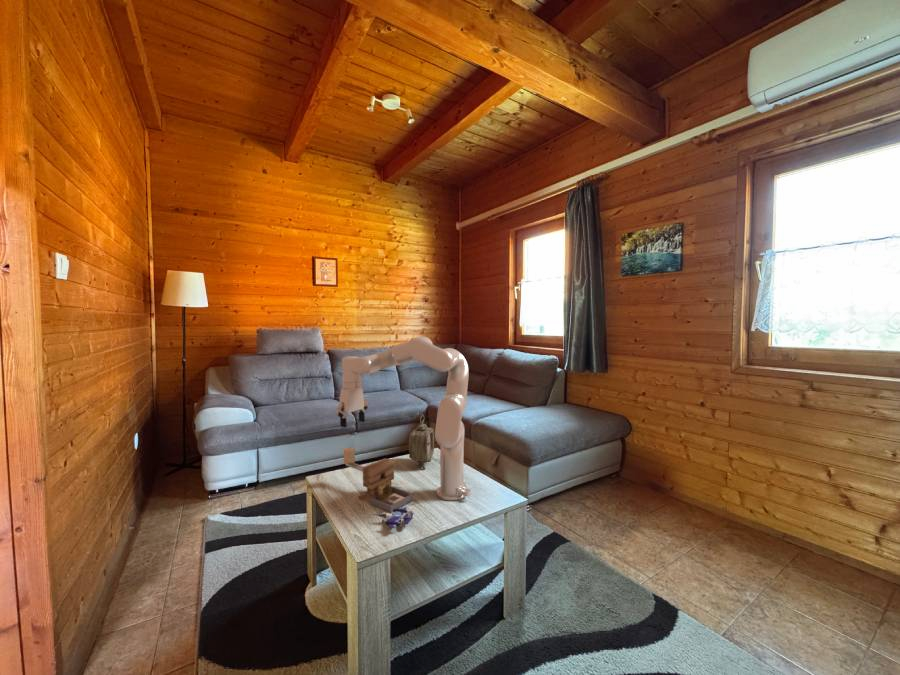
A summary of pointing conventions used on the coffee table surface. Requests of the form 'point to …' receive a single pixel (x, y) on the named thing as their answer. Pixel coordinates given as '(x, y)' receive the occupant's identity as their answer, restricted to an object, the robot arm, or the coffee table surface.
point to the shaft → (352, 459)
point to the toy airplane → (397, 517)
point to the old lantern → (421, 443)
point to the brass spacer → (380, 490)
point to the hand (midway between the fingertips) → (352, 424)
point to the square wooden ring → (389, 499)
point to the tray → (397, 505)
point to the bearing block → (376, 477)
